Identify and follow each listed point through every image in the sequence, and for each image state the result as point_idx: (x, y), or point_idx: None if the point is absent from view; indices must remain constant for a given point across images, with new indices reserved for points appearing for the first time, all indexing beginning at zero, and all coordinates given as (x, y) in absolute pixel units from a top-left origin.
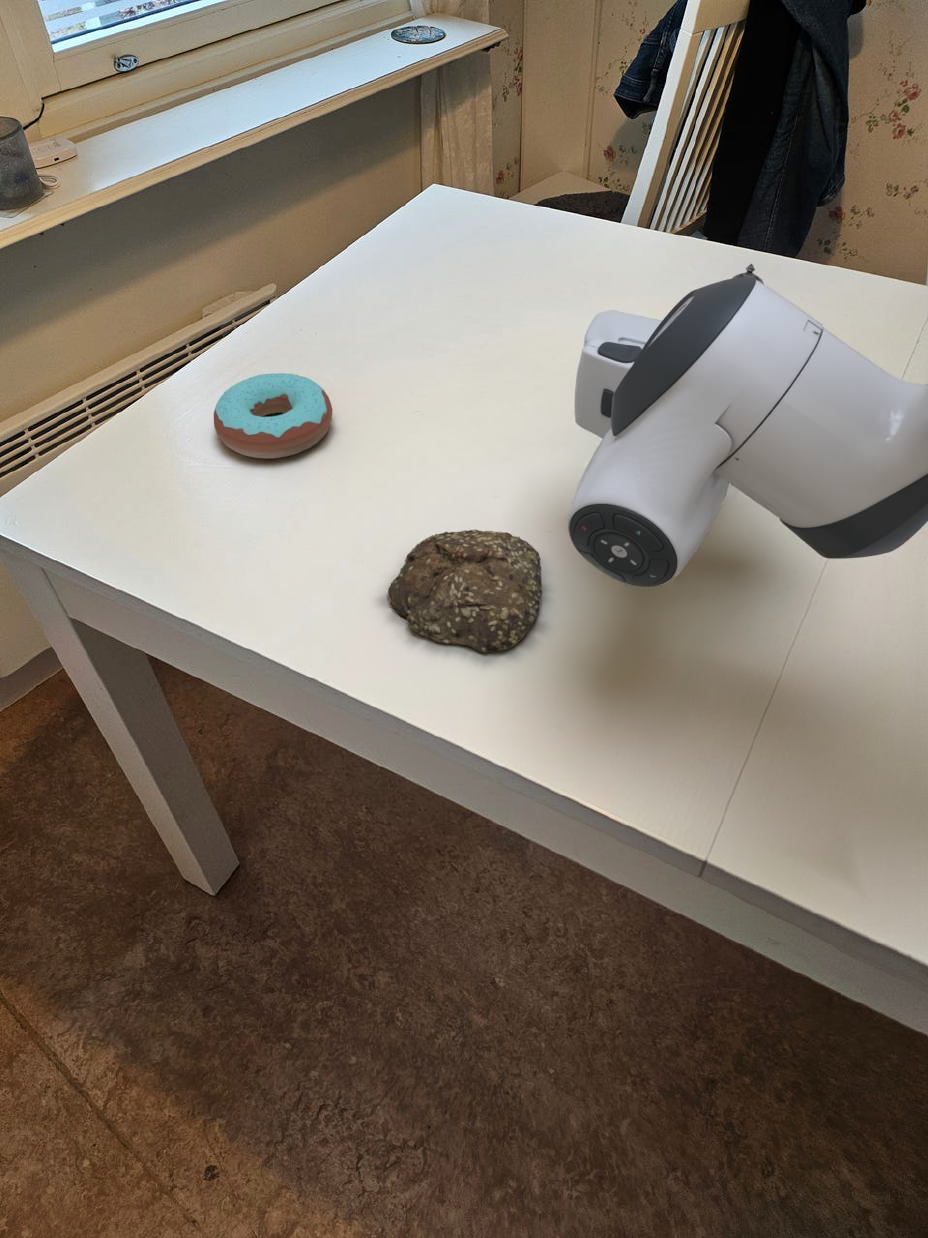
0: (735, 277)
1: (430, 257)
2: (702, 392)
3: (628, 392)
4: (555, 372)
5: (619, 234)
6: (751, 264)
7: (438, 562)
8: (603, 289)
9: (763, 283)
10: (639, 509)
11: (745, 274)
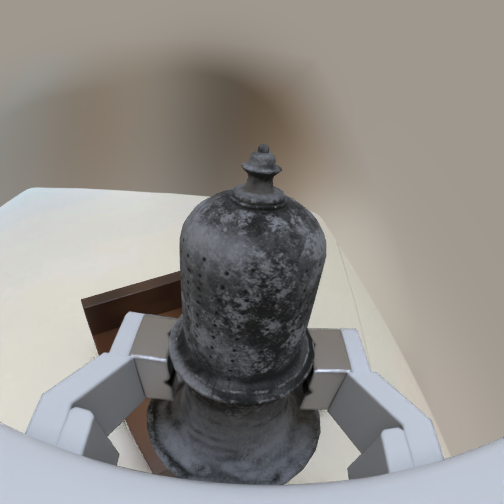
0: (205, 208)
1: (3, 228)
2: None
3: None
4: (55, 324)
5: (124, 195)
6: (265, 146)
7: None
8: (107, 233)
9: (316, 220)
10: None
11: (245, 191)
